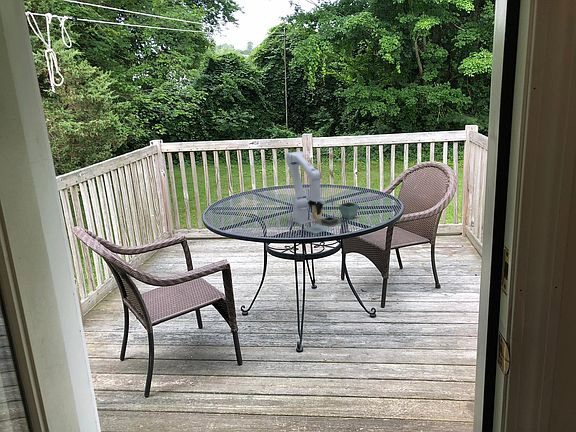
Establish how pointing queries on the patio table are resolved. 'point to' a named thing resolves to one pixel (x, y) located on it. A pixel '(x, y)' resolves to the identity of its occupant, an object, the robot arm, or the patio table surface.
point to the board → (316, 229)
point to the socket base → (329, 221)
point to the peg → (316, 213)
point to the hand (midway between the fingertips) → (316, 213)
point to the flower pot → (348, 210)
